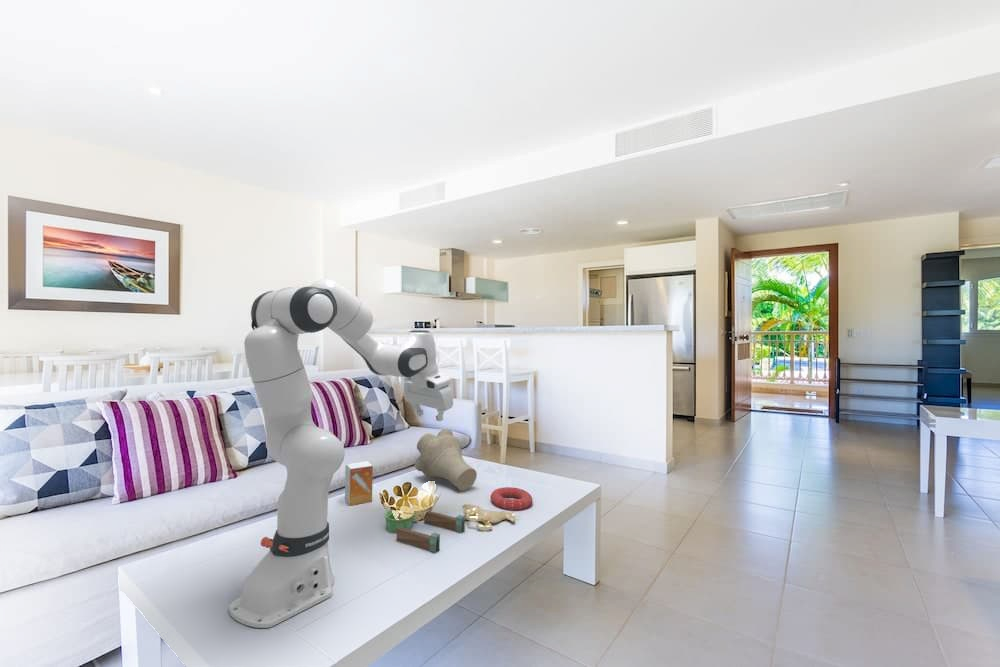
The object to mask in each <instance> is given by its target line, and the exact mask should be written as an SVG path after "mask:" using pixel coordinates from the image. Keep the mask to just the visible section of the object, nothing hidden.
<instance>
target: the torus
mask: <svg viewBox="0 0 1000 667" xmlns="http://www.w3.org/2000/svg"><path fill="white" fill-rule="evenodd" d="M490 501H491V503H492V504H493V505H495V506H496V507H498V508H500V509H504V510H509V511H522V510H525V509H528V508H529V507H531V505H532V504H533V497H532V495H531V493H529V492H528V491H526V490H524V489H522V488H517V487H511V486H506V487H505V486H504V487H498V488H496V489H494V490H493V491H492V492H491V494H490Z"/></svg>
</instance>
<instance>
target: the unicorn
mask: <svg viewBox="0 0 1000 667" xmlns="http://www.w3.org/2000/svg"><path fill="white" fill-rule="evenodd" d="M461 508H462V510H463V509H464V511H463V515H462V516H465V521H466V520H468V521H470V522H480V523H483V524H484V525H483V524H480V523H476V525H475V527H476V529H477V530H482V531H490V530H492V529H493V525H495V524H497V523H500V522H501V521H505V520H508V521H510V522H515V521H516V518H519V517H521V515H515V512H511V513H510V512H508V511H498V510H497V511H496V510H495V511H494V510H488V509H484V508H481V507H480V506H479V505H475V504H474V505H473V504H469V503H467V504H466V503H465V504H461Z"/></svg>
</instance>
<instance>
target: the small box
mask: <svg viewBox="0 0 1000 667" xmlns="http://www.w3.org/2000/svg"><path fill="white" fill-rule="evenodd" d="M373 467H374V466H373V464H371V463H370V462H369V460H365V461H359V462H353V463H347V464H345V475H344V476H345V481H344V482H345V483H344V500H345V502H346V503H347V504H348V506H354V505H359V504H364V503H365V504H366V503H372V501H373V480H374V479H373V472H374V470H373V469H374V468H373Z"/></svg>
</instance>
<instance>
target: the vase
mask: <svg viewBox="0 0 1000 667" xmlns="http://www.w3.org/2000/svg"><path fill="white" fill-rule="evenodd" d="M416 450H418V452H419V453H420V455H419V456H418V457H417V458H416V459H415V461H414V467H415V469H416V470H417V471H418V472H422V474H423V475H424V476H426V477H428V478H431V479H445V480H447V481H449V482H450V483H451V484H452V485H454V486H455V487H456V488H457V489H458V490H459V491H461V492H463V491H467V490H469V489H470V488H472V487H473V485H474V484H475V482H476V479H477V477H478V476H477V474H478V473H477V471H476V469H475V468H474V467H471V466H470V465H469V464H468V462H466V461H465V460H464V458H463V455H462V454H463V453H462V445H461V442H460V440H459V439H458V438H457V437H456V436H455V435H454V434H453V431H452V430H451V429H448V428H443V429H441V430H440V431H439V432H438V434H437V435H434V434H432V433H430V432H429V433H427V432H426V433H425V434H423V435H422V436H421V437H420V438H419V440H418V441H417V444H416Z"/></svg>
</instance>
